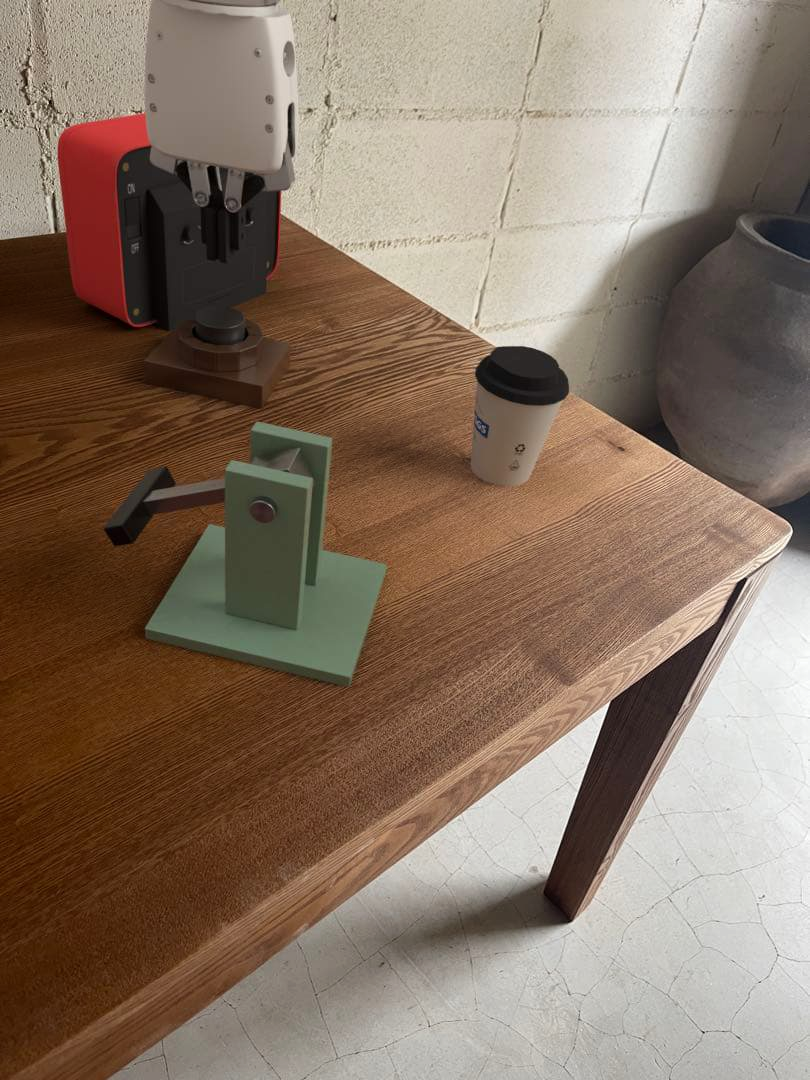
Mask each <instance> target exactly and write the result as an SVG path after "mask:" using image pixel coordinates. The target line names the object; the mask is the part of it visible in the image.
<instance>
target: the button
mask: <svg viewBox="0 0 810 1080" xmlns="http://www.w3.org/2000/svg"><path fill="white" fill-rule="evenodd" d="M245 318H246V316H245V315H244V314H243V313H242V312H241V311H240V310H238V309H236V308H233V307H230V308H229V307H223V306H212V307H206V308H203V309H201V310H199V311H198V312H197V313H196V315H195V334H196V338H197V339H199V340H200V341H202V342H203V343H208V344H213V345H217V346H218V345H234V344H237V343H239V342H242V341H243V340H244V338H245Z"/></svg>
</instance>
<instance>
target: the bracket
mask: <svg viewBox="0 0 810 1080" xmlns="http://www.w3.org/2000/svg"><path fill="white" fill-rule="evenodd" d="M333 440H334V439H333V437H330V436H326V435H322V434H316V433H312V432H307V431H303V430H298V429H294V428H289V427H285V426H280V425H275V424H271V423H266V422H262V421H255V423H254V424H253V425H252V427H251V429H250V442H249V443H250V445H249V463H247V462H243V461H240V460H239V461H238V460H234V459H231V460H230V461H229V463H228V464H227V466H226V467H225V469H224V478H225V503H224V526H220V525H216V524H212V523H208V525H207V527H206V529H205V530H204V531H203V533H202V535H201V536H200V538H199V540H198V541H197V543H196V544H195V546H194V548H193V549H192V551H191V553H190V554H189V556H188V557H187V559H186V561H185V562H184V564H183V565H182V567H181V569H180V570H179V572H178V574H177V575H176V577H175V578H174V580H173V581H172V583H171V585H170V586H169V588H168V590H167V591H166V593H165V595H164V597H163V598H162V599H161V601H160V602H159V604H158V606H157V608H156V609H155V611H154V613H153V614H152V616H151V617H150V619H149V621H148V622H147V624H146V625H145V627H144V634H145V635H144V636H145V639H147V640H150V641H155V642H159V643H163V644H168V645H172V646H175V647H180V648H183V649H188V650H191V651H192V650H193V651H197V652H201V653H205V654H209V655H213V656H218V657H221V658H225V659H230V660H233V661H238V662H242V663H247V664H251V665H254V666H259V667H263V668H267V669H272V670H276V671H280V672H284V673H288V674H291V675H297V676H300V677H305V678H309V679H313V680H318V681H322V682H327V683H331V684H333V685H338V686H343V687H347V688H350V687H351V683H352V680H353V677H354V674H355V671H356V668H357V664H358V661H359V659H360V655H361V653H362V649H363V647H364V644H365V641H366V637H367V633H368V631H369V628H370V625H371V622H372V620H373V619H372V618H373V615H374V612H375V609H376V607H377V603H378V599H379V598H380V594H381V590H382V588H383V584H384V581H385V578H386V575H387V570H388V564H386V563H382V562H378V561H374V560H369V559H365V558H360V557H356V556H351V555H348V554H343V553H340V552H339V553H338V552H334V551H331V550H326V549H325V550H324V549H323V546H324V536H325V525H326V515H327V505H328V494H329V482H330V471H331V462H332V461H331V460H332V452H333V451H332V449H333V442H334V441H333ZM294 448H300V449H301V451H302V454H303V456H304V458H305V460H306V463H307V465H308V467H309V470H310V472H311V474H312V476H313V478H310V477H306V476H301V475H297V474H293V473H288V472H284V471H279V470H275V469H270V468H266V467H261V466H257V465H252V464H250V463H251V462H252V460H253V459H254V457H255V456H258V455H263V454H268V453H273V452H279V451H284V450H289V449H294ZM313 479H314V481H315V485H314V487H313V489H312V484H313Z"/></svg>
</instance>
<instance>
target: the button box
mask: <svg viewBox="0 0 810 1080" xmlns="http://www.w3.org/2000/svg"><path fill="white" fill-rule="evenodd" d="M291 355H292V343H290V342H286V341H282V340H277V339H272V338H271V339H270V338H267V337H264V334H263V331H262V329H261V327H260V325H259V324H257V323H255V322H253V321H251V320H250V319H248V318H246V317H245V338H244V340H243V341H242V342H239V343H237V344H234V345H218V346H217V345H213V344H208V343H203V342H202V341H200V340H199V339H197V338H196V334H195V316H194V317H191V318H187V319H185V320H184V321H183V320H182V321H181V322H180V323H179V324H178V325H177V326H176V327H175V328H174V329H173V330H171V331H169V333H168V334H167V335H166V337H164V338H163V339H162V341H160V342H159V344H158V345H157V346H156V347H155V348H154V349H153V350H152V351H151V352H150V353H149V355H148V356H146V358H145V359H144V360H143V368H144V380H145V381H144V383H145V385H150V386H155V387H160V388H163V389H164V388H165V389H167V390H168V389H169V390H173V391H177V392H182V393H187V394H191V395H196V396H200V397H205V398H209V399H214V400H218V401H223V402H228V403H233V404H238V405H241V406H246V407H251V408H254V409H255V408H256V409H259V410H262V409H263V408H264V407H265V405H266V403H268V401H269V399H270V397H271V396H272V395H273V392H274V391H275V390H276V388H277V386H279V383H280V382H281V380H282V379H283V377H284V376H285V374H286V373H287V371H288V370H289V368H290V366H291Z"/></svg>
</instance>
